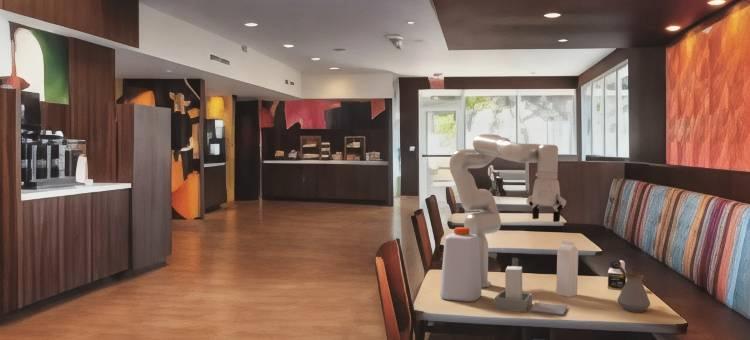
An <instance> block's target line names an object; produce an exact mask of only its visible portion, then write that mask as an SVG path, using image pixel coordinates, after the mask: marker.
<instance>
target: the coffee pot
mask: <svg viewBox="0 0 750 340" xmlns="http://www.w3.org/2000/svg"><path fill="white" fill-rule="evenodd" d="M615 264H617V265H618V266H615V267H619V269H620V271H621V272H622V273H623V274H624V275H625V277H626V283H625V285H624V287H623V289H622V290H620V291H621V292H619V293H620V294H619V295H618V297H617V304H618V305H619V306H620V307H621V308H622V310H625V311H628V312H635V313H641V312H646V310H647V309H648V308H650V306H651V301H650V298H649V297H648V294H647V292H646V289H645V287H644V285H643V284H644V283H643V282H642V281H643V279H644V277H645V276H644V275H643V274H636V273H627V272H626V273H625V271H626V270H624V269H623V268H622V267H621V265H620V264H619V263H618V262H616V263H615ZM615 264H614V265H615Z"/></svg>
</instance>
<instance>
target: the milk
mask: <svg viewBox="0 0 750 340" xmlns="http://www.w3.org/2000/svg"><path fill="white" fill-rule="evenodd" d="M556 252H557V253H556V256H557V258H556V291H555V292H556V295H558V296H563V297H566V298H570V297H574V296H577V295H578V280H579V279H578V273H579V272H578V271H579V249H578V248H577V247H576V246H575V242H573V241H566V240H562V241H561V245H559V247H558V248H557V251H556Z"/></svg>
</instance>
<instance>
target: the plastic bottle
mask: <svg viewBox="0 0 750 340" xmlns="http://www.w3.org/2000/svg"><path fill="white" fill-rule="evenodd" d="M469 231H470V229H469V228H466V227H464V226H457V227H455V228H454V232H452V233H449V234H447V235H446V236H445V237H444V242H443V243H444V244H443V255H442V266H441V277H440V279H441V280H440V291H439V296H440V298H441V299H443V300H447V301H455V302H466V303H472V302H476V301H477V300H478V299H479V298H480V297H481V296H482V288H481V275H480V256H479V238H478V236H477V235H475V234H469Z"/></svg>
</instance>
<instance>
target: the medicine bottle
mask: <svg viewBox="0 0 750 340" xmlns="http://www.w3.org/2000/svg"><path fill="white" fill-rule="evenodd" d="M616 262H618V263H619V264H620V265H621V267H622V268H623V269H624V271H625V273H626V274H627V271H626V269H625V268H626V262H625V261H624V260H621V259H611V260H610V261H609V269H608V272H607V289H609V290H610V289H612V290H618V291H619V290H620V291H622V289H623V287H624V285H625V283H626V281H627V278H626V277H625V275H624V274H623V273H622V272H621V271H620V269H619V267H615V266H618V265H617V264H615V263H616ZM614 264H615V265H614Z"/></svg>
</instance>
